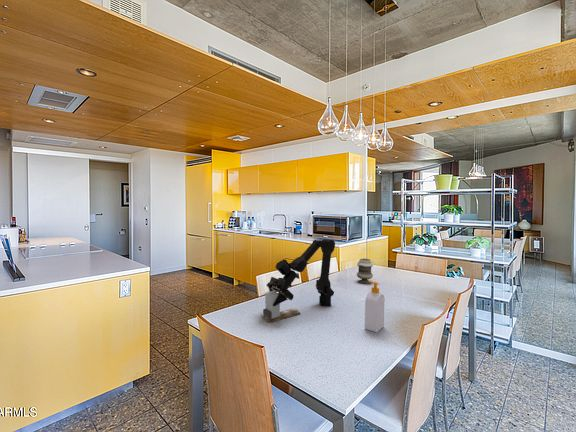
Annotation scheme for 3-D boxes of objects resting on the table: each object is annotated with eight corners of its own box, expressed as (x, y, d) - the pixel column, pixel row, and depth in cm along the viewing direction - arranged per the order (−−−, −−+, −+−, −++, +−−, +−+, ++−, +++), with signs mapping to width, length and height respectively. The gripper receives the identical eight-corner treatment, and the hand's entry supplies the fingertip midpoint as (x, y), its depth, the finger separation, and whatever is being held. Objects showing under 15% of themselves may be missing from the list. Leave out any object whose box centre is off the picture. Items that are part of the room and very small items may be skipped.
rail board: (292, 310, 164) (293, 301, 163) (300, 314, 158) (300, 305, 158) (262, 318, 152) (262, 308, 152) (269, 322, 146) (269, 313, 146)
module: (273, 312, 155) (273, 290, 154) (279, 316, 150) (279, 293, 150) (265, 314, 152) (265, 292, 152) (271, 318, 148) (271, 296, 147)
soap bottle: (370, 322, 148) (371, 278, 147) (383, 326, 143) (385, 281, 142) (362, 328, 141) (364, 282, 140) (376, 332, 136) (378, 285, 135)
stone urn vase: (356, 283, 219) (356, 260, 218) (357, 279, 230) (357, 257, 230) (372, 285, 215) (373, 261, 215) (372, 281, 227) (373, 258, 226)
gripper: (269, 267, 160) (251, 290, 154) (289, 274, 145) (270, 300, 139) (281, 279, 165) (264, 302, 159) (301, 287, 150) (283, 313, 144)
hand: (270, 304), depth 150 cm, fingers closed on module, 6 cm apart
